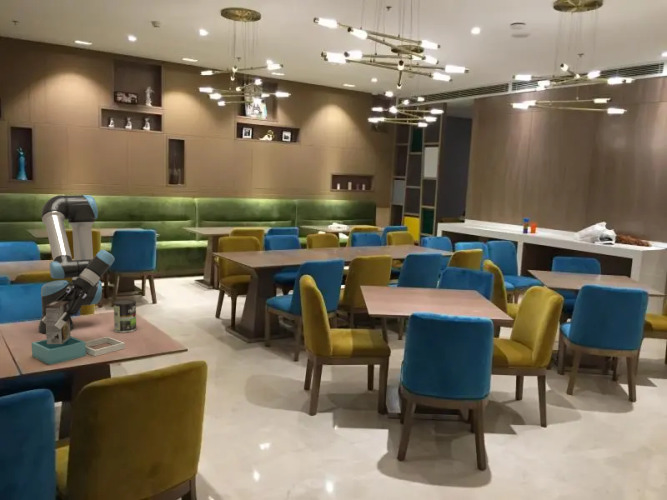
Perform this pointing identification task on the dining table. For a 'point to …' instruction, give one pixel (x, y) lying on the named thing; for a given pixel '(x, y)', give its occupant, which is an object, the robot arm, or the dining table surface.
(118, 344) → the collar
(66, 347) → the bin
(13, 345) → the dining table surface
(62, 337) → the coffee box
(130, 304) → the coffee can
